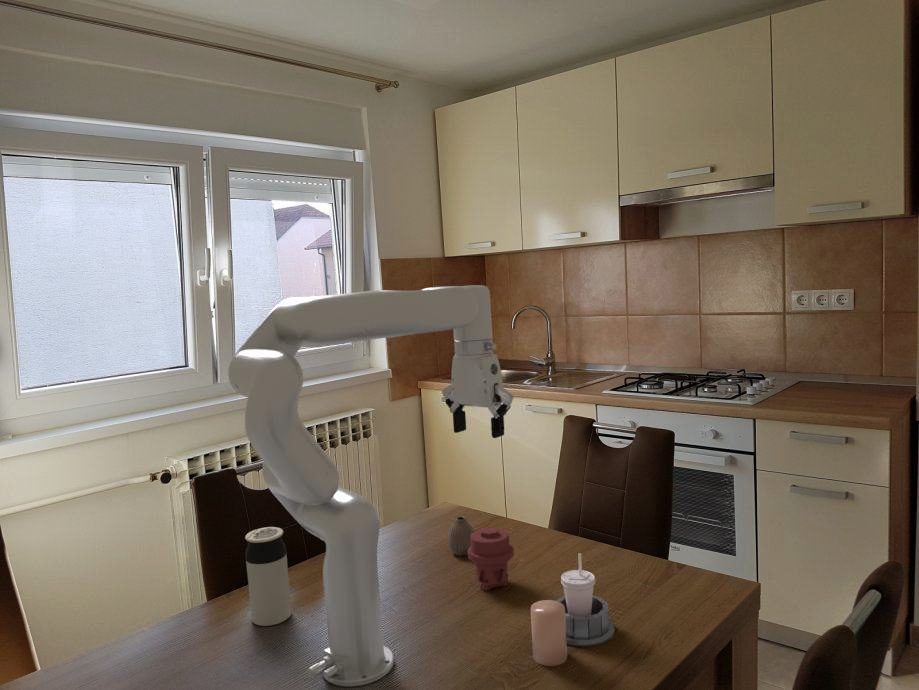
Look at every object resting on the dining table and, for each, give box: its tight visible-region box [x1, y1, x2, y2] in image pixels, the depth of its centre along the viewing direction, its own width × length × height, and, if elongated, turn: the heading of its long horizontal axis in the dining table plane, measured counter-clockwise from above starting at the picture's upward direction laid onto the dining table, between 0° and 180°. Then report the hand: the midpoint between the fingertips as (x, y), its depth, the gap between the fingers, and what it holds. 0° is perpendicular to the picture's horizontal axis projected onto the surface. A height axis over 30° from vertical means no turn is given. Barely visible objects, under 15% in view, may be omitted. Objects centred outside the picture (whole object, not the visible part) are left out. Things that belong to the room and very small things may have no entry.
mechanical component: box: [467, 526, 515, 591], centre depth 153 cm, size 12×10×10 cm
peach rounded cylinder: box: [530, 599, 568, 667], centre depth 123 cm, size 6×6×9 cm
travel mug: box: [244, 526, 292, 627], centre depth 143 cm, size 8×8×18 cm
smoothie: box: [560, 552, 596, 616], centre depth 131 cm, size 6×6×14 cm
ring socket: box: [555, 594, 616, 648], centre depth 132 cm, size 12×12×5 cm
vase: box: [447, 516, 476, 557], centre depth 171 cm, size 7×7×9 cm
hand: (478, 433), depth 139 cm, fingers open, 9 cm apart
